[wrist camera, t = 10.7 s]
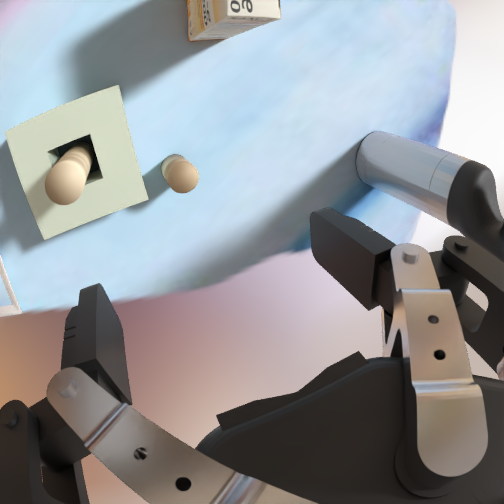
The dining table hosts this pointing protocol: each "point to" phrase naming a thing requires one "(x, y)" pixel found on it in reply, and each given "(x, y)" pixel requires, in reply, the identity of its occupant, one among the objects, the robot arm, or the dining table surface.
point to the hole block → (98, 182)
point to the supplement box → (228, 17)
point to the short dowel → (179, 173)
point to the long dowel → (69, 174)
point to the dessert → (15, 306)
